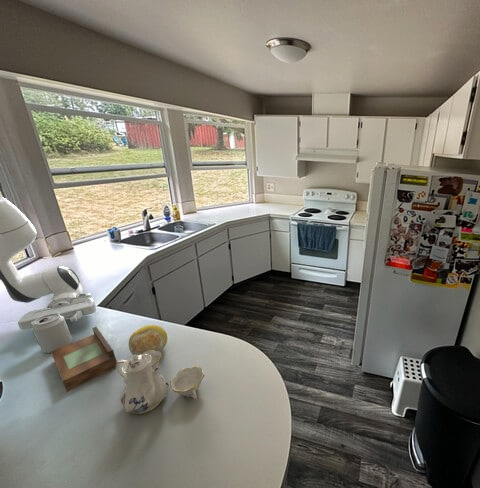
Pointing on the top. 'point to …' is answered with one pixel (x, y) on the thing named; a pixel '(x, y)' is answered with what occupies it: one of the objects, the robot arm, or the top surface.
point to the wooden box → (84, 359)
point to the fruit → (147, 339)
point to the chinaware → (153, 382)
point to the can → (51, 332)
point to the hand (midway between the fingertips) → (55, 324)
